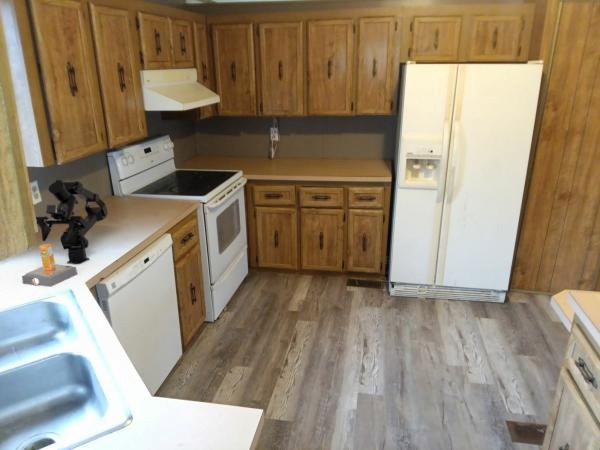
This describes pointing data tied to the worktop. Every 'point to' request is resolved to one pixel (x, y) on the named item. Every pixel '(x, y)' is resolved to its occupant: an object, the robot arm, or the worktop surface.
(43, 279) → the kitchen scale
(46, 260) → the supplement box
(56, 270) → the pan
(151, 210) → the worktop surface
